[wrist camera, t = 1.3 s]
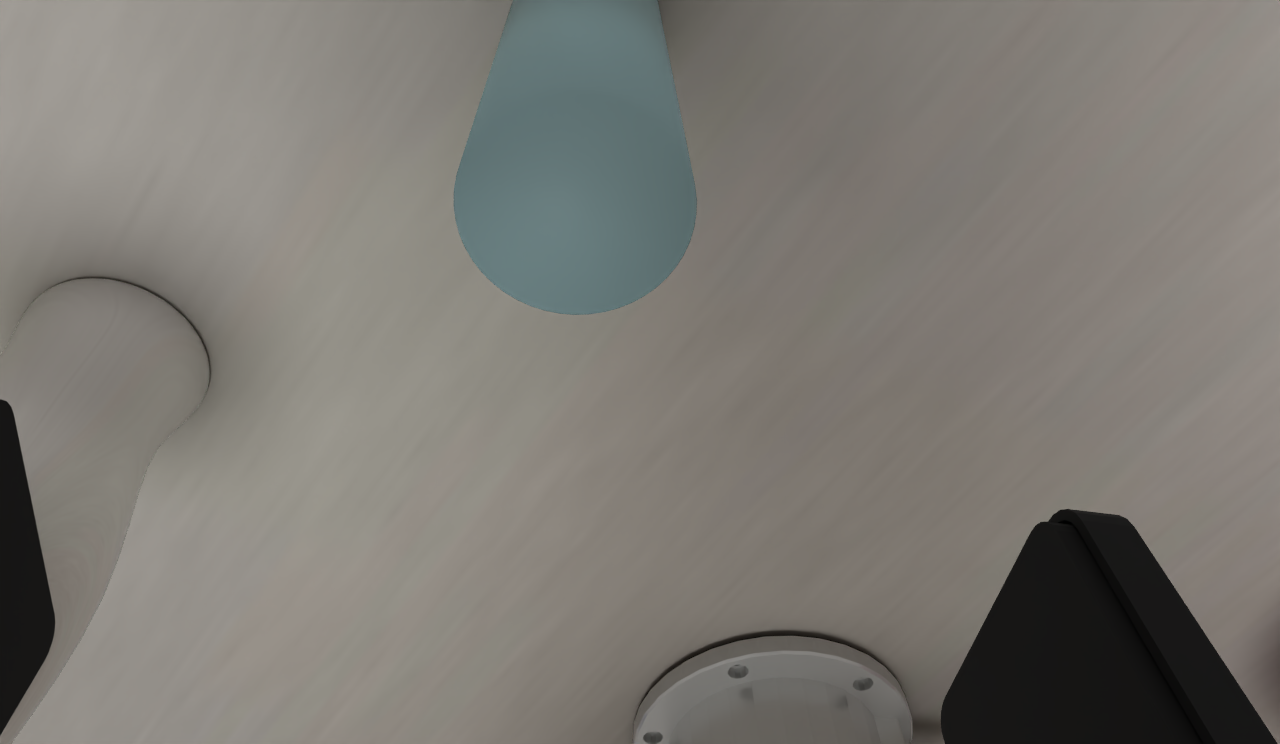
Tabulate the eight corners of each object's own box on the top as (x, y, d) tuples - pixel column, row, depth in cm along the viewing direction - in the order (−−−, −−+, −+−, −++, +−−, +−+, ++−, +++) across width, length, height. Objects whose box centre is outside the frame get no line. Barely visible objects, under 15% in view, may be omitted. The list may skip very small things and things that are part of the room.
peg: (669, -54, 27) (720, 112, 16) (643, 89, 29) (670, 328, 18) (524, -81, 27) (464, 68, 15) (508, 66, 29) (445, 297, 17)
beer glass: (42, 225, 31) (-336, 562, 19) (255, 327, 33) (46, 689, 21) (-15, 382, 34) (-372, 762, 22) (184, 465, 37) (-36, 854, 24)
